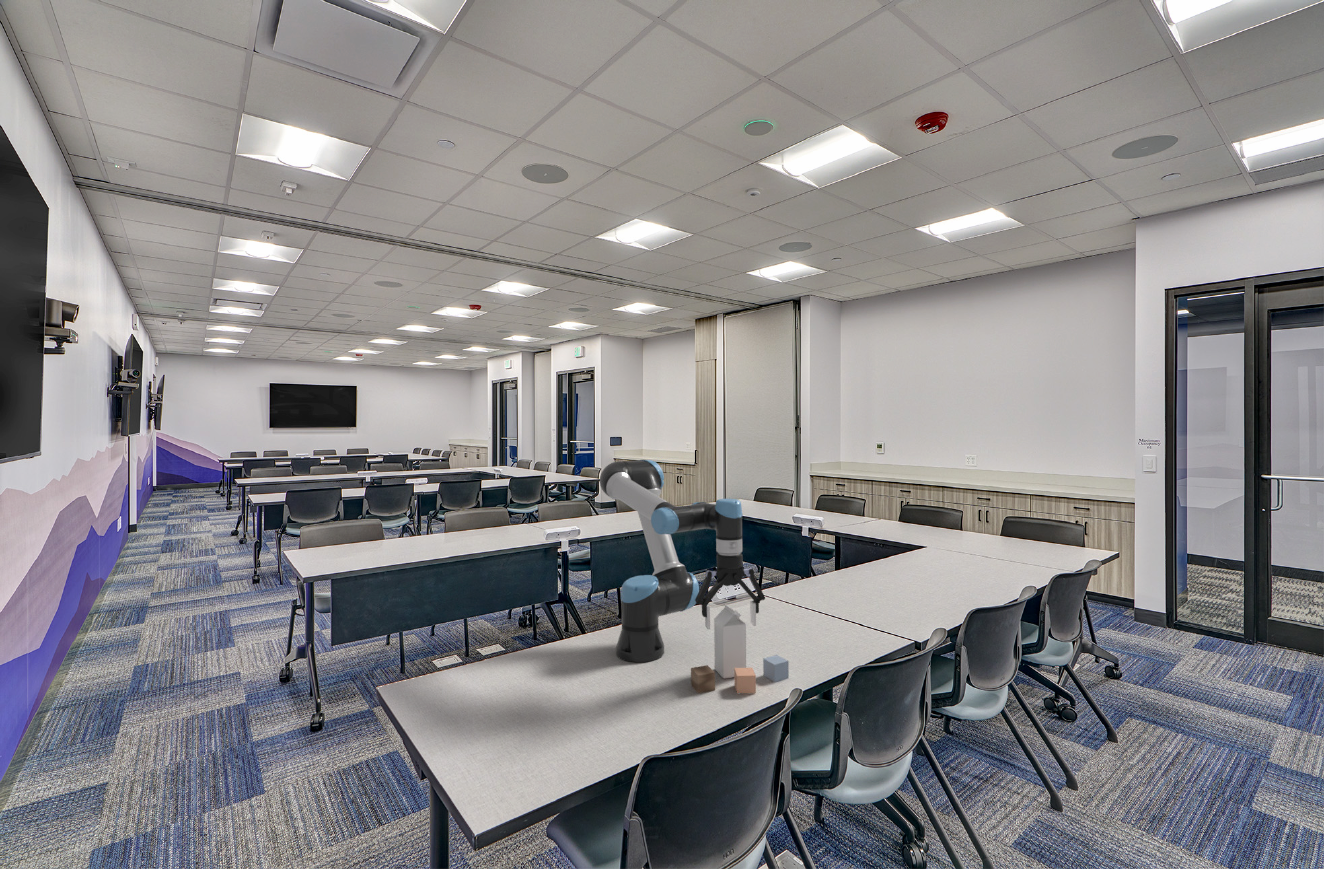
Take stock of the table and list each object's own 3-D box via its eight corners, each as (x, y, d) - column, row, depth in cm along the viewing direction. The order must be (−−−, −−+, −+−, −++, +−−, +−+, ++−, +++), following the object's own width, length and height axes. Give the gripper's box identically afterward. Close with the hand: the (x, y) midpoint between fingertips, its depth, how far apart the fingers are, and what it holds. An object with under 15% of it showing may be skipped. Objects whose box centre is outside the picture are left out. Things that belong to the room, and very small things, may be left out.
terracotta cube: (737, 694, 154) (737, 676, 154) (734, 686, 159) (734, 668, 159) (755, 694, 154) (755, 675, 154) (752, 685, 159) (752, 667, 159)
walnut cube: (698, 693, 155) (697, 675, 155) (691, 685, 160) (690, 668, 159) (715, 690, 156) (714, 672, 156) (707, 683, 161) (707, 665, 161)
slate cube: (774, 682, 161) (774, 664, 161) (763, 675, 165) (763, 658, 165) (788, 678, 163) (788, 661, 163) (776, 672, 168) (776, 654, 168)
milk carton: (723, 679, 163) (722, 612, 163) (714, 669, 170) (713, 605, 170) (746, 676, 165) (746, 610, 165) (736, 666, 172) (736, 602, 171)
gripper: (689, 558, 161) (691, 633, 161) (775, 553, 165) (776, 627, 165) (684, 552, 168) (685, 624, 169) (766, 548, 172) (767, 618, 173)
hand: (730, 626), depth 167 cm, fingers open, 13 cm apart
